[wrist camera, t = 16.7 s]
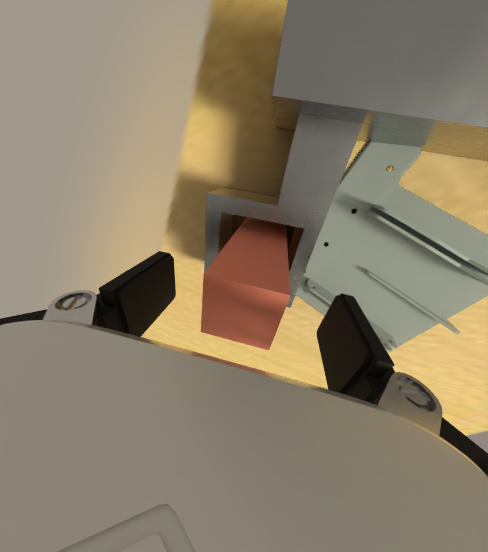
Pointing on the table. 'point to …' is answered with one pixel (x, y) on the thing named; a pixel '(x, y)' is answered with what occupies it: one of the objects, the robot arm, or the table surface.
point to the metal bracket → (394, 251)
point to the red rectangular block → (248, 285)
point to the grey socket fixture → (363, 103)
